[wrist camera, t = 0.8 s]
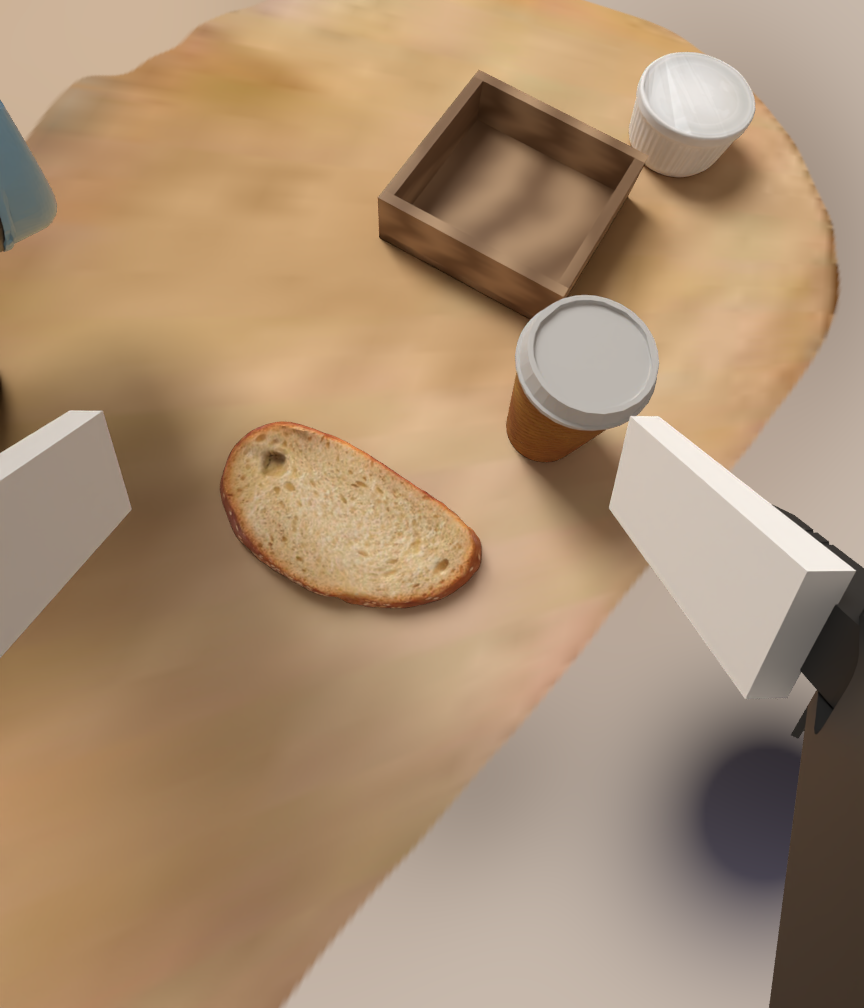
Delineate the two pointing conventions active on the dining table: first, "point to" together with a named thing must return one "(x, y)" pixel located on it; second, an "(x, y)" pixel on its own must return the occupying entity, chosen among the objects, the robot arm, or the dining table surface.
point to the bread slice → (343, 520)
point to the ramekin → (689, 112)
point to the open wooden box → (508, 195)
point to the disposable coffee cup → (578, 375)
